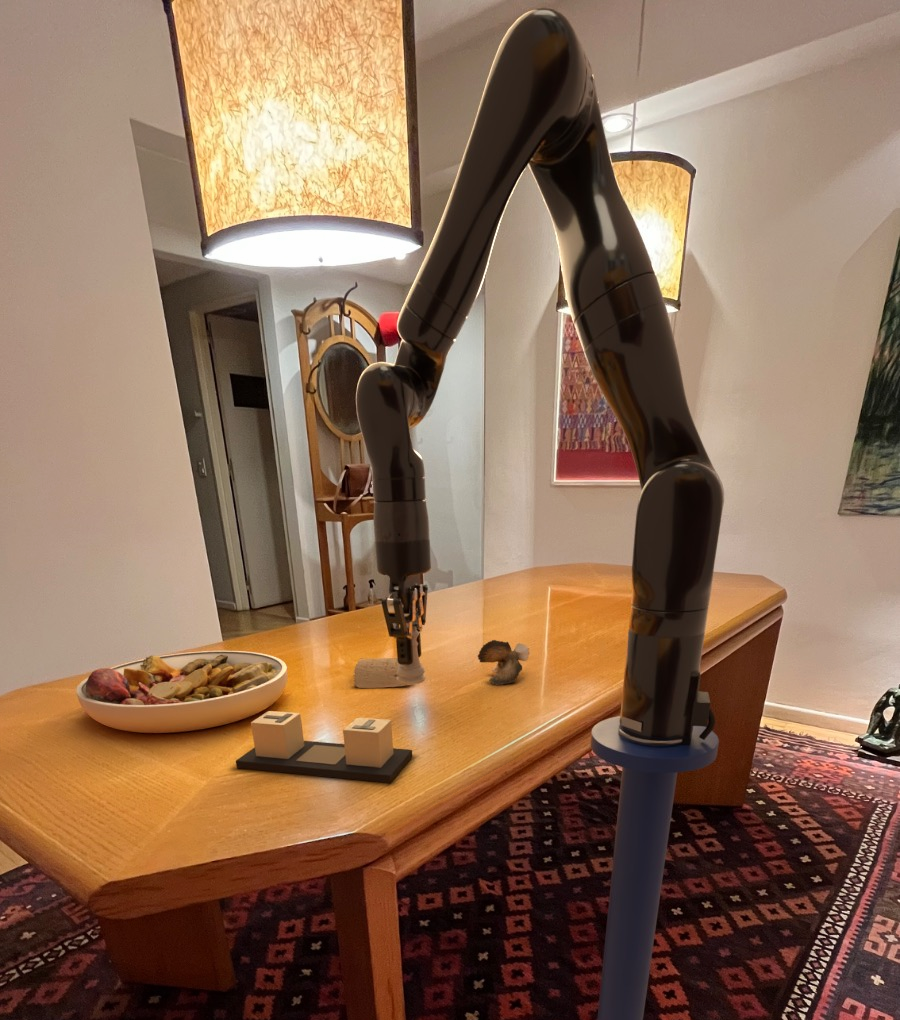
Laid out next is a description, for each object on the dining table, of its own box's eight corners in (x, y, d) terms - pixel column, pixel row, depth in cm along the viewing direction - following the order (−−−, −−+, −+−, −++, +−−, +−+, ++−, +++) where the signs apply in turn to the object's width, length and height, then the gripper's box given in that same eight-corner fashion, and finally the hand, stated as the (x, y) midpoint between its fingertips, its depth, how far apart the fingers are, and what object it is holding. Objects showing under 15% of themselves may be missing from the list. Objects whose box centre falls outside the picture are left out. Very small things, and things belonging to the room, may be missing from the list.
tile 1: (304, 746, 85) (300, 712, 83) (288, 759, 82) (283, 724, 80) (273, 743, 87) (268, 709, 85) (256, 756, 83) (250, 721, 81)
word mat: (412, 756, 84) (412, 748, 84) (390, 783, 77) (390, 774, 77) (269, 744, 89) (268, 736, 88) (236, 768, 82) (235, 759, 82)
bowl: (232, 669, 123) (225, 625, 120) (328, 703, 104) (322, 652, 100) (56, 708, 105) (42, 658, 101) (133, 759, 85) (117, 700, 82)
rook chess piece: (406, 675, 104) (402, 623, 100) (431, 678, 102) (428, 625, 98) (390, 683, 100) (386, 629, 97) (416, 686, 99) (413, 631, 95)
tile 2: (393, 753, 82) (391, 718, 80) (380, 767, 79) (378, 731, 77) (360, 750, 84) (357, 716, 82) (346, 764, 80) (342, 728, 78)
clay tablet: (363, 665, 124) (362, 650, 123) (418, 664, 124) (417, 649, 122) (352, 688, 111) (350, 672, 110) (413, 687, 111) (412, 671, 109)
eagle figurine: (482, 661, 119) (466, 665, 111) (505, 628, 117) (491, 629, 108) (515, 688, 119) (502, 693, 110) (540, 655, 116) (528, 658, 108)
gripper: (411, 541, 85) (419, 674, 93) (442, 531, 97) (447, 650, 105) (356, 542, 87) (368, 672, 95) (393, 532, 99) (401, 648, 107)
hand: (409, 660), depth 100 cm, fingers closed on rook chess piece, 3 cm apart
